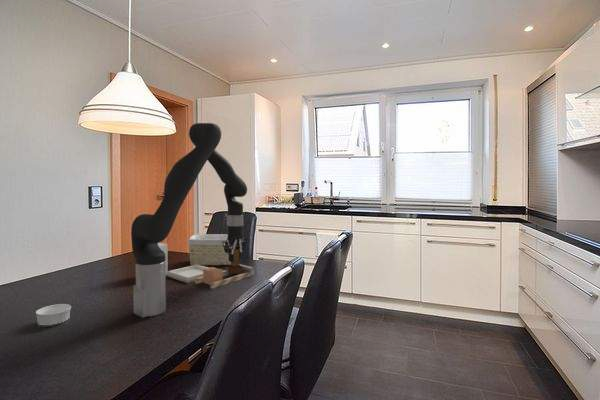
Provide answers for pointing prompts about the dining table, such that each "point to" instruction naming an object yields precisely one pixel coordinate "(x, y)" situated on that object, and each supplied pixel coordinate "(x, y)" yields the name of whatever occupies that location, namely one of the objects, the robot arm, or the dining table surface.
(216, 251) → the storage basket
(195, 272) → the tray
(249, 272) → the rail
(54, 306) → the ramekin
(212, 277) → the orange brown block
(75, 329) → the dining table surface
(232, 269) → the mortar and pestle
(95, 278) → the dining table surface
